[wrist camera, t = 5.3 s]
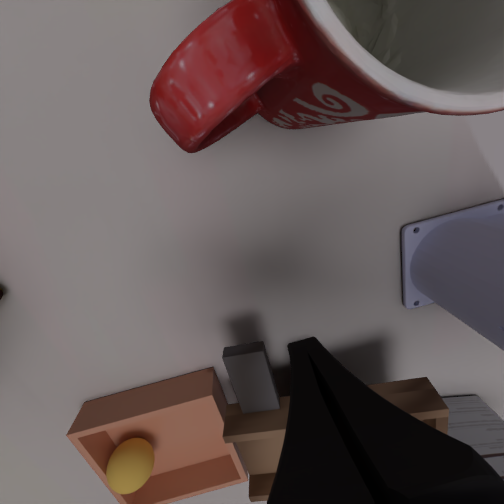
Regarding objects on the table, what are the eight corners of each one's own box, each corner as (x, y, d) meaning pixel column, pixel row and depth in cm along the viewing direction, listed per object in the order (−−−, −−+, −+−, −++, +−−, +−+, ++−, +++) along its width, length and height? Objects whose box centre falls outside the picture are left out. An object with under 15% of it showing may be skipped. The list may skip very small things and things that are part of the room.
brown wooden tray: (423, 309, 18) (453, 340, 15) (422, 446, 24) (443, 487, 21) (206, 345, 20) (197, 379, 17) (253, 465, 26) (252, 505, 23)
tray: (213, 366, 24) (212, 395, 21) (245, 448, 29) (248, 480, 26) (84, 402, 24) (66, 435, 21) (137, 478, 28) (128, 514, 26)
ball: (137, 419, 26) (151, 448, 23) (152, 444, 27) (167, 475, 24) (94, 453, 24) (103, 490, 21) (113, 478, 25) (124, 516, 22)
